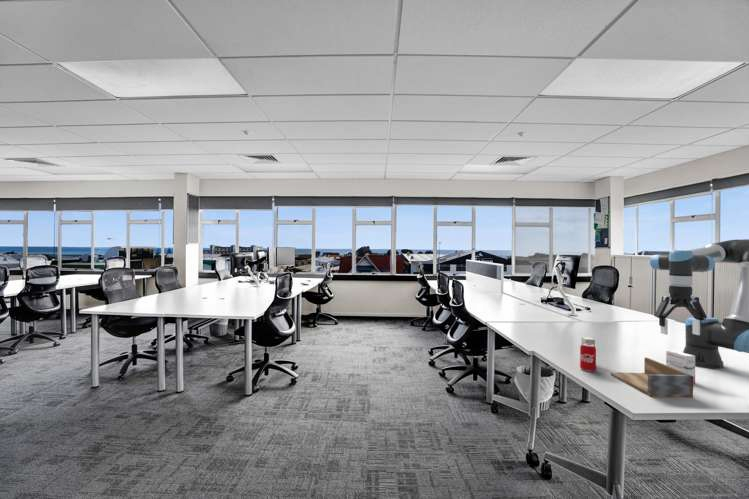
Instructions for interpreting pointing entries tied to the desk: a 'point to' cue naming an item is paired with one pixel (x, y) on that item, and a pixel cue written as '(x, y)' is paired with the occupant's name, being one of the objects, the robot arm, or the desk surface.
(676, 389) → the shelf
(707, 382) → the desk surface
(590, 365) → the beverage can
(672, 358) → the ink box
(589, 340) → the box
